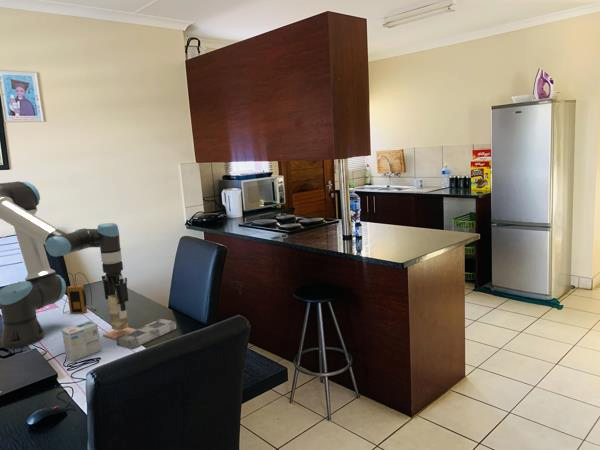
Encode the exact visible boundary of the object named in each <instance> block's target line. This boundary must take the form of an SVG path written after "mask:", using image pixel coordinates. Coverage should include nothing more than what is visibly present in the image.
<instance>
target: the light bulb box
mask: <svg viewBox="0 0 600 450" xmlns="http://www.w3.org/2000/svg"><path fill="white" fill-rule="evenodd" d="M61 332H62V338H63V345H64V352H65V356H66V358H67V359H69V360H71V361H72V362H74V361H77V360H80V359H83V358H84V357H85V358H86V357H88V356H90V355H93V354H96V353H98V352H100V351H101V350H102V349H101V348H102V347H101V341H100V334H99V326H98V323H95V322H94V321H90V320H88V321H86V322H82V323H80V324H79V323H78V324H76V325H74V326H70V327H67V328H63V329H61Z"/></svg>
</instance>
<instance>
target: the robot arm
mask: <svg viewBox="0 0 600 450" xmlns="http://www.w3.org/2000/svg"><path fill="white" fill-rule="evenodd" d="M40 201H41V194H40V192H39V190H38V189H37V188H36V186H35V185H33V184H32V183H30V182H28V181H12V182H11V181H9V182H0V220H3V222H5V223H8V224H9V225H11V226H13V228H14V233H15V235H16V239H17V242H18V245H19V249H20V252H21V256H22V258H23V262H24V265H25V268H26V271H27V276H26V277H25V279H24V280H23V281H18V282H13V283H10V284H8V285H6V286H4V287H2V288H0V311H1V318H2V323H3V328H2V333H1V338H0V344H1V345H0V346H1V347H2V348H5V349H16V348H22V347H27V346H30V345H32V344H35V343H37V342H39V341H41V340H43V339H44V338H45V331H44V329H43V327H42V325H41V324H40V322H39V320H38V318H37V317H38V316H37V310H40V309H43V308H45V307H47V306H49V305H52V304H55V303H56V302H59V301H61V300H62V299H63V298H64V296H65V295H66V293H67V289H66V287H67V285H66V280H65V278H63V277H62V276H61V275H59V274H57V273H56V270H55V269H52V268H51V266H50V263H49V260H48V256H47V253H48V254H49V255H50V256H51V257H64V256H66V255H68V254H69V255H70V254H71V253H75V252H79V251H82V250H85V249H90V248H99V250H100V257H101V263H102V265H101V266H102V271H103V273H104V274H105V275H102V276H101V280H102V283H103V290H104V298H105V300H107V301H108V302H109V300H108V296H110V295H113V294H116V293H117V297H118V301H119V303H117V304H118V311H119V319H123V318H126V311H127V306H126V307H125V302H126V303H127V302H129V293H128V292H129V291H128V278H127V277H123V274H122V271H123V270H124V264H123V261H122V260H123V257H122V251H121V250H122V248H121V240H120V238H121V237H120V232H119V226H118V224H117V223H115V222H108V223H107V222H106V223H101V224H98V225H97V228H79V229H75V230H74V231H72V232H68V233H66V232H64V231H63V230H61V229H58V228H57V227H55V226H54V225H52V224H50V223H49V222H46V221H45V220H44V219H41V218H40V217H38V216H37V215H36V213H37V212H38V208H37V207H38V205H39V204H40Z"/></svg>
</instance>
